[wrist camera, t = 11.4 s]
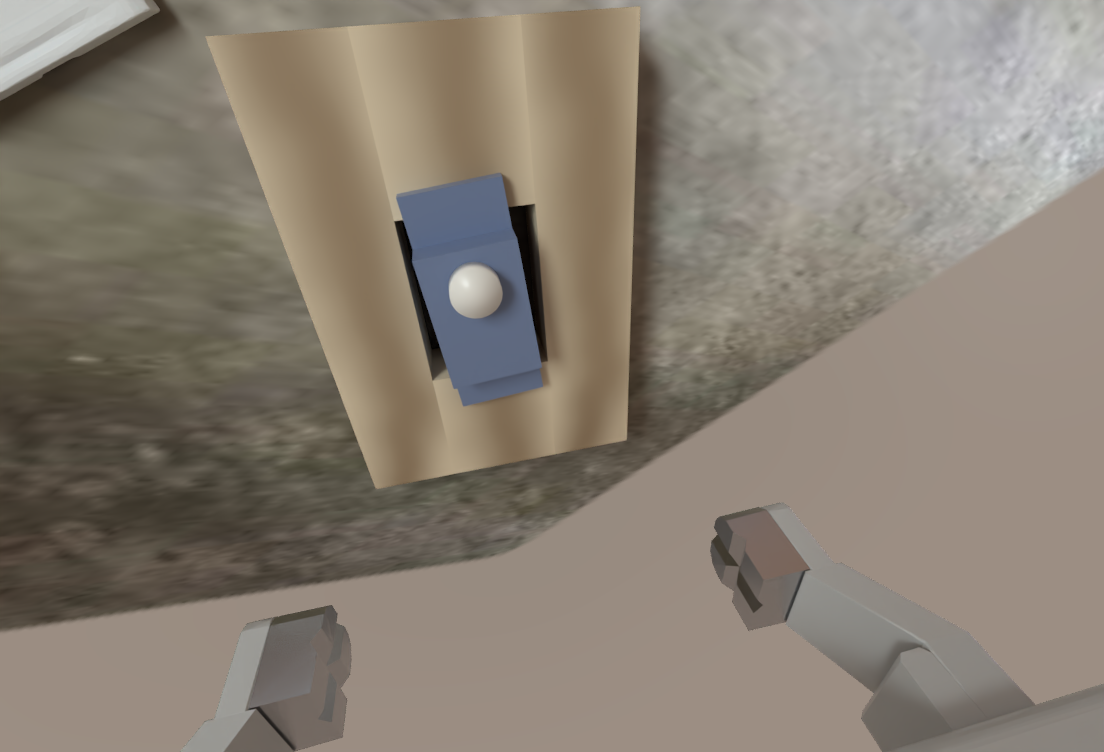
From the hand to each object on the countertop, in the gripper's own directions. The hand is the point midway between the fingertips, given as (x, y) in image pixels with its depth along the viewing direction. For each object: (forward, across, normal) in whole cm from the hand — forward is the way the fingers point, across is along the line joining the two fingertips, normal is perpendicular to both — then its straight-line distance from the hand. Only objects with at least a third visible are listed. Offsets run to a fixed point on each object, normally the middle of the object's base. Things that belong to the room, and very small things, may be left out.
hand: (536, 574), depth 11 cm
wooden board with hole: (+17, 0, 0) cm, 17 cm away
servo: (+17, 0, 0) cm, 17 cm away
